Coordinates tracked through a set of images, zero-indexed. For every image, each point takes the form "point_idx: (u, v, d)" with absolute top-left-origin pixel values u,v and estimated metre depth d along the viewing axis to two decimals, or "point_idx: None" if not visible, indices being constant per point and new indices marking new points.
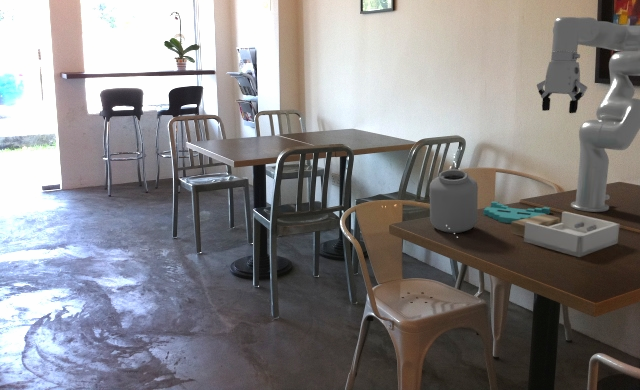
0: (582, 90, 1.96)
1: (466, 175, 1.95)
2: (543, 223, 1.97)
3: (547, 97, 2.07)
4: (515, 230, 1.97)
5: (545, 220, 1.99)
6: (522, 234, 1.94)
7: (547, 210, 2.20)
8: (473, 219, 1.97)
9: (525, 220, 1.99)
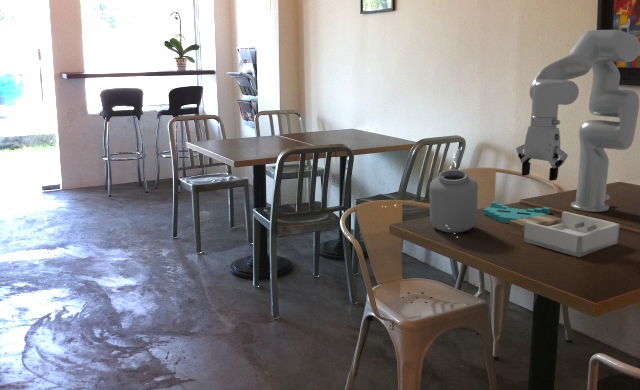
0: (562, 158, 1.88)
1: (466, 175, 1.95)
2: (542, 223, 1.97)
3: (527, 161, 1.99)
4: (512, 229, 1.98)
5: (544, 220, 1.99)
6: (518, 233, 1.95)
7: (547, 210, 2.20)
8: (473, 219, 1.97)
9: (524, 219, 1.99)
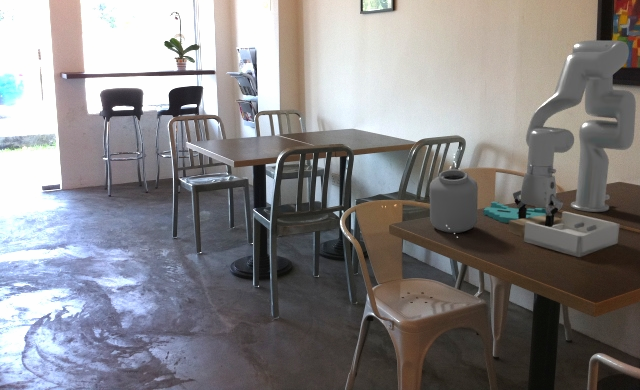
0: (558, 206, 1.91)
1: (466, 175, 1.95)
2: (541, 223, 1.97)
3: (523, 207, 2.02)
4: (512, 229, 1.98)
5: (544, 220, 1.99)
6: (518, 233, 1.95)
7: None
8: (473, 219, 1.97)
9: (524, 219, 1.99)
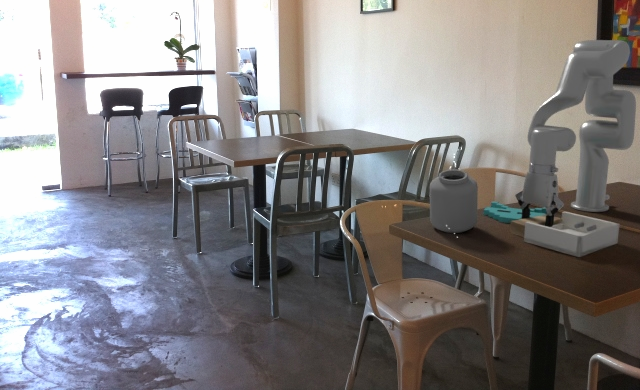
0: (558, 207, 1.91)
1: (466, 175, 1.95)
2: (543, 223, 1.96)
3: (527, 208, 2.01)
4: (514, 229, 1.97)
5: (545, 220, 1.98)
6: (520, 233, 1.95)
7: None
8: (473, 219, 1.97)
9: (525, 220, 1.99)
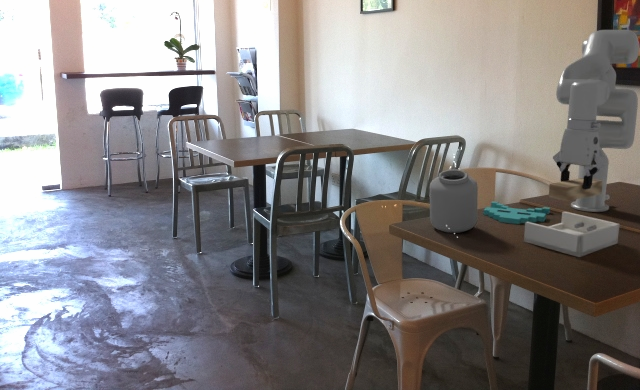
0: (598, 166, 1.77)
1: (466, 175, 1.95)
2: None
3: (566, 170, 1.86)
4: (553, 192, 1.82)
5: None
6: (561, 197, 1.80)
7: (547, 210, 2.20)
8: (473, 219, 1.97)
9: (564, 182, 1.84)
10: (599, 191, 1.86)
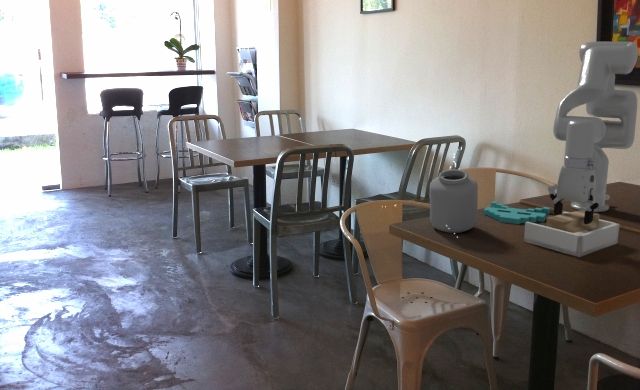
0: (598, 201, 1.79)
1: (466, 175, 1.95)
2: (581, 219, 1.84)
3: (559, 202, 1.89)
4: (551, 226, 1.84)
5: (583, 216, 1.86)
6: None
7: (547, 210, 2.20)
8: (473, 219, 1.97)
9: (562, 216, 1.86)
10: (596, 224, 1.89)
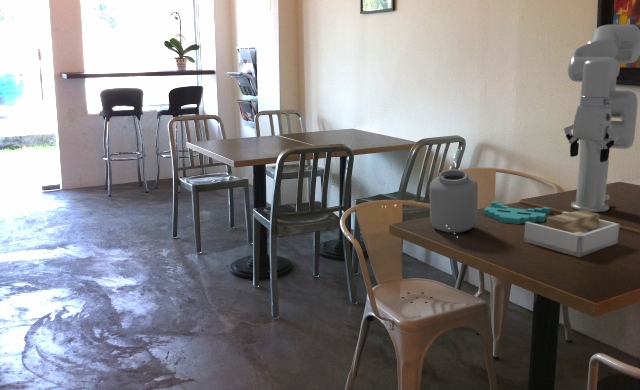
0: (614, 138, 1.83)
1: (466, 175, 1.95)
2: (581, 219, 1.84)
3: (575, 142, 1.94)
4: (551, 226, 1.84)
5: (583, 216, 1.86)
6: None
7: (547, 210, 2.20)
8: (473, 219, 1.97)
9: (562, 216, 1.86)
10: (596, 224, 1.89)
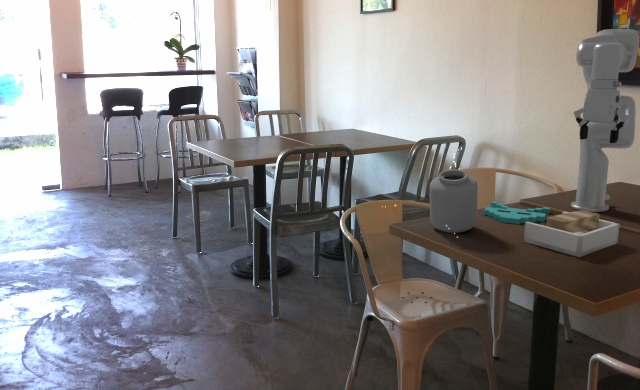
0: (624, 120, 1.88)
1: (466, 175, 1.95)
2: (581, 219, 1.84)
3: (585, 125, 1.98)
4: (551, 226, 1.84)
5: (583, 216, 1.86)
6: None
7: (547, 210, 2.20)
8: (473, 219, 1.97)
9: (562, 216, 1.86)
10: (596, 224, 1.89)
